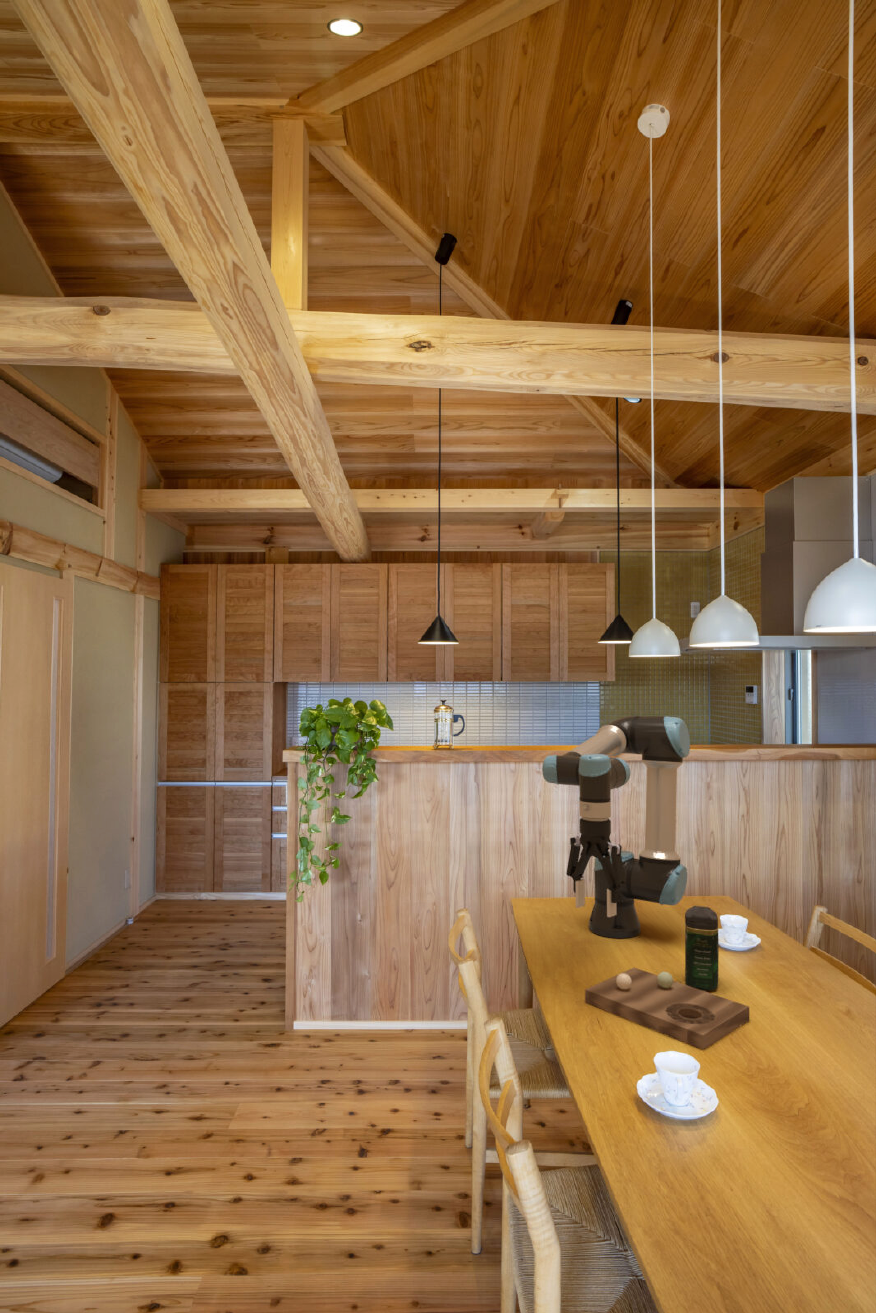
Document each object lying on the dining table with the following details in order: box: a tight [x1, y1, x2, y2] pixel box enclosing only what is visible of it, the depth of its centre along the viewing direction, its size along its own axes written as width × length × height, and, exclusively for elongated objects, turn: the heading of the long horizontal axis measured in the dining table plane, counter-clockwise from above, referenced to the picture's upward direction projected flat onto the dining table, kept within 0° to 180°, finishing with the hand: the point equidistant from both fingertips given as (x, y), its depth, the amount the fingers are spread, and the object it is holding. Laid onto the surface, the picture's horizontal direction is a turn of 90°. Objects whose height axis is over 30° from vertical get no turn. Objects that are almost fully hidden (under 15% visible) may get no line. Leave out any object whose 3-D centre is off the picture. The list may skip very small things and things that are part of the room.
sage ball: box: [657, 971, 674, 988], centre depth 177 cm, size 4×4×4 cm
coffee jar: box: [684, 905, 720, 992], centre depth 187 cm, size 10×8×19 cm
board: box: [584, 967, 750, 1051], centre depth 172 cm, size 30×20×3 cm, turn 41°
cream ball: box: [616, 972, 632, 990], centre depth 177 cm, size 4×4×4 cm
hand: (595, 910), depth 183 cm, fingers open, 9 cm apart
